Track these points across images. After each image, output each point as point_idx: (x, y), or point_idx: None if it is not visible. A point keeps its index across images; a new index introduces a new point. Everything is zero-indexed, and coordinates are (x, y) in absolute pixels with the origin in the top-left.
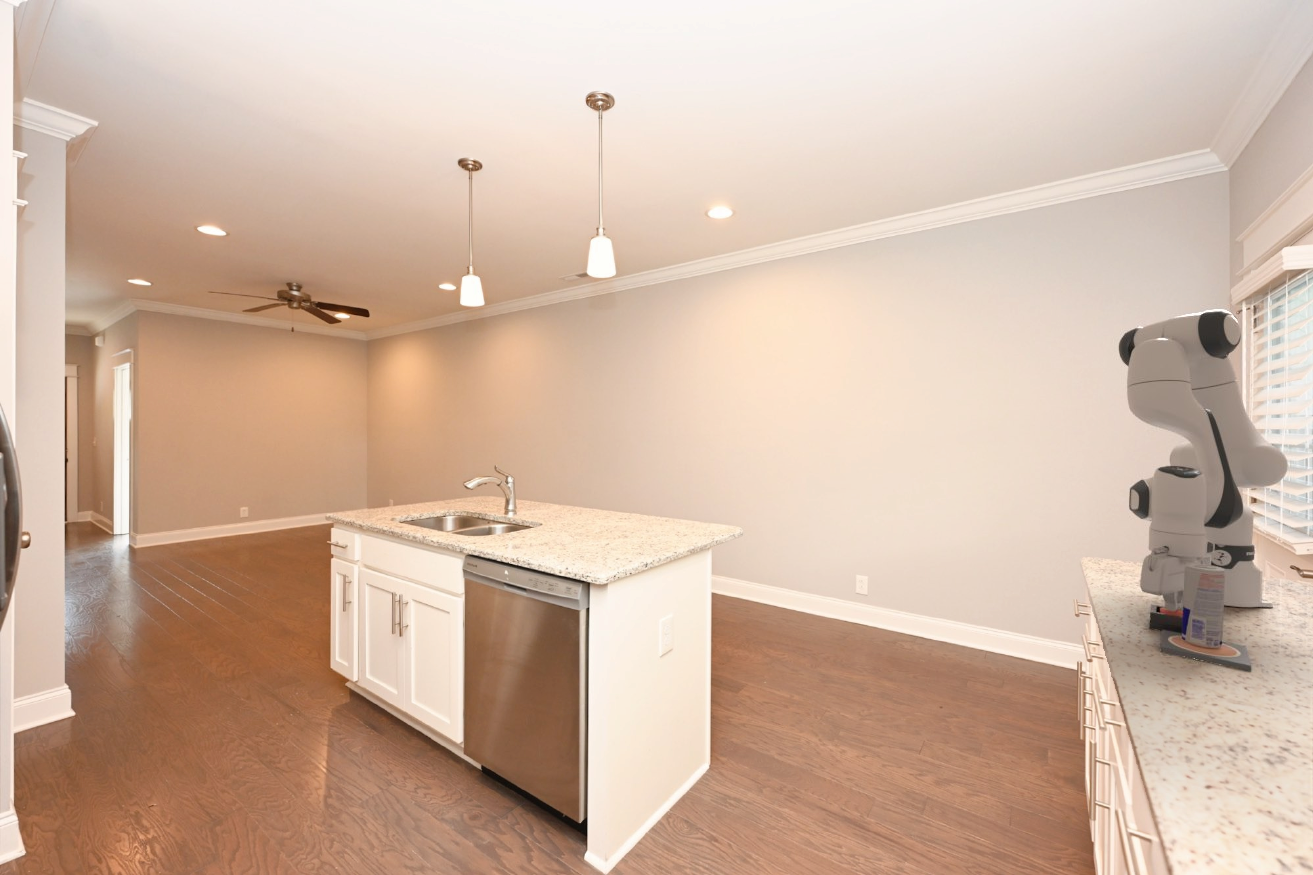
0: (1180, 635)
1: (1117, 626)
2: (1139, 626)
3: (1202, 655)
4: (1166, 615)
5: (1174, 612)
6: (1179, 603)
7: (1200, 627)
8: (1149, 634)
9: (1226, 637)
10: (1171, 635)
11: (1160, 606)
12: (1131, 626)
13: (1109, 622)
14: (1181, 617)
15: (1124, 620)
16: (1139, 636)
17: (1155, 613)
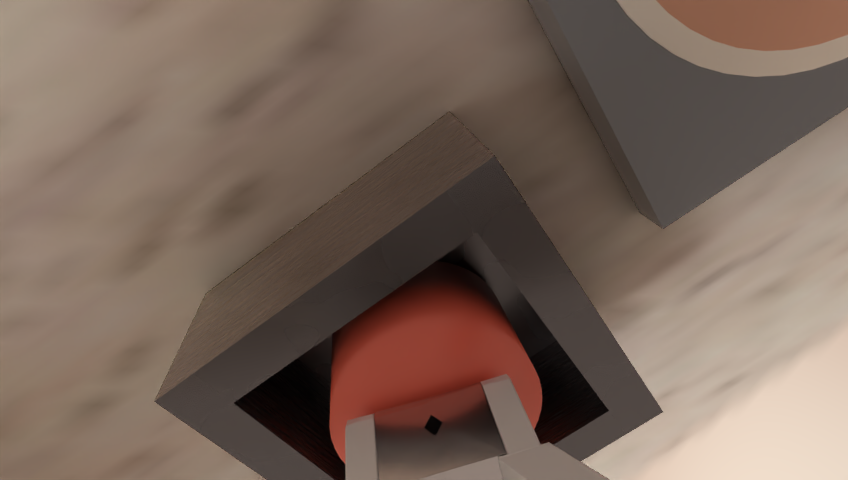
0: (682, 84)
1: (740, 365)
2: None
3: None
4: (608, 334)
5: (486, 372)
6: (428, 468)
7: None
8: (722, 225)
9: (105, 57)
10: (760, 98)
11: None
12: (655, 360)
13: (703, 422)
14: (546, 261)
15: None
16: (834, 202)
17: (645, 385)
